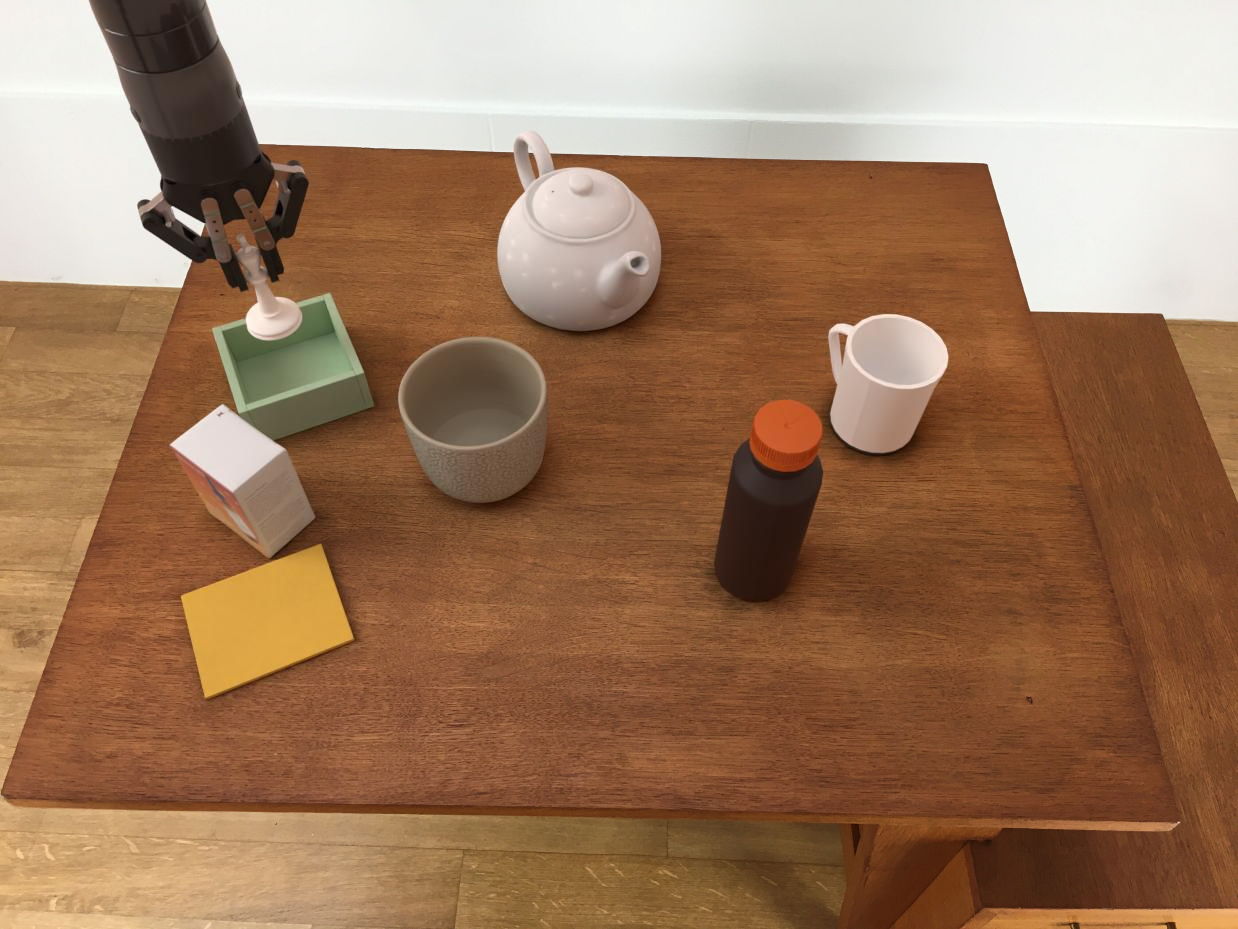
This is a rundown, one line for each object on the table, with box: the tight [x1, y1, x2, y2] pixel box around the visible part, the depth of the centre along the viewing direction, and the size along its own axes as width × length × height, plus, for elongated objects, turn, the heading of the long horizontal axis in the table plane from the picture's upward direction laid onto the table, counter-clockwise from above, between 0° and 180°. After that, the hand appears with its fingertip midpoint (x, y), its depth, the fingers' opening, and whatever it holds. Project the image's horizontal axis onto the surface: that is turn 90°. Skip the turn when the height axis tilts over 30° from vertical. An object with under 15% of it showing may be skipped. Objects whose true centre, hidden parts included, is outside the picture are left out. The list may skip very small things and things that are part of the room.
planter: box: [397, 336, 549, 504], centre depth 85 cm, size 12×12×11 cm
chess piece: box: [235, 232, 302, 340], centre depth 84 cm, size 5×5×10 cm
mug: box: [827, 313, 949, 456], centre depth 89 cm, size 11×9×10 cm
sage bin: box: [211, 292, 375, 441], centre depth 93 cm, size 12×12×5 cm
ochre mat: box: [180, 543, 355, 701], centre depth 80 cm, size 12×10×1 cm
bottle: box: [713, 399, 824, 602], centre depth 75 cm, size 7×7×20 cm
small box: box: [169, 403, 316, 559], centre depth 82 cm, size 8×6×10 cm
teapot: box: [496, 130, 662, 332], centre depth 99 cm, size 19×18×14 cm
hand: (257, 280), depth 84 cm, fingers closed on chess piece
